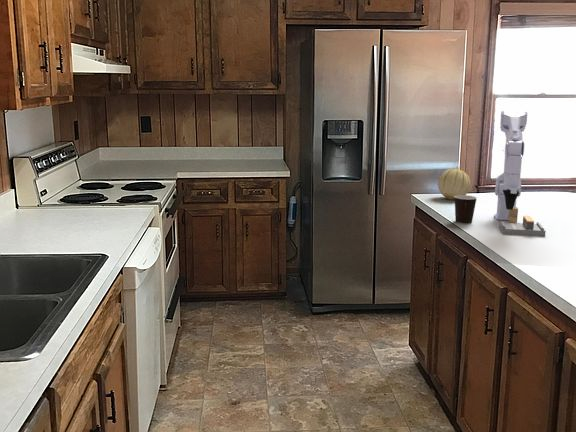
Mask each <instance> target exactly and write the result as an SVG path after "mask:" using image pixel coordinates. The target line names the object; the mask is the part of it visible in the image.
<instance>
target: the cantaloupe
mask: <svg viewBox="0 0 576 432" xmlns="http://www.w3.org/2000/svg"><path fill="white" fill-rule="evenodd" d="M437 182H438V183H437V188H438V191H439V193H440V194H441V195H442V196H443V198H446V199H448V200H454V196H458V195H467V194H468V193H469V191H470V189H471V179H470V176H469V175H468V173H466V172H465V171H464V170H462V169H460V168H459V167H458V166H456V168H449V169H446V170H445V171H443V172H442V173H441V175H440V176H439V178H438V180H437Z"/></svg>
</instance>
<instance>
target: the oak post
mask: <svg viewBox="0 0 576 432" xmlns="http://www.w3.org/2000/svg"><path fill="white" fill-rule="evenodd" d="M518 215H519V208H518V207H517V206H516V207H513V209H512V210H510V209H509V214H508V220H507V223H518Z"/></svg>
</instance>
